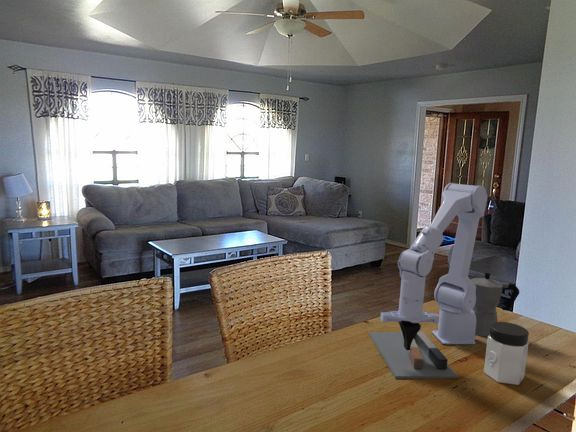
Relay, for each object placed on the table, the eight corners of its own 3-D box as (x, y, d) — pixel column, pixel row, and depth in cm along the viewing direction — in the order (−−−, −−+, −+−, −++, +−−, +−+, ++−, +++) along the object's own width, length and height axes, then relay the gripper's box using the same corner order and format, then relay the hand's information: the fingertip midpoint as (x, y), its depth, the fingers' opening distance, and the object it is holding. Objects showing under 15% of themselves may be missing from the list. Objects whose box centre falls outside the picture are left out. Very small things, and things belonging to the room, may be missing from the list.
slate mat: (368, 334, 124) (368, 332, 124) (419, 334, 125) (419, 332, 125) (395, 378, 100) (395, 376, 100) (457, 377, 102) (457, 375, 102)
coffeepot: (457, 332, 127) (464, 273, 124) (457, 321, 136) (462, 265, 133) (516, 342, 122) (523, 281, 119) (511, 329, 131) (518, 272, 128)
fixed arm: (414, 339, 119) (414, 331, 119) (421, 339, 120) (422, 331, 119) (438, 369, 104) (439, 359, 103) (446, 369, 104) (447, 359, 103)
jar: (476, 368, 107) (481, 322, 105) (502, 364, 109) (508, 319, 107) (504, 387, 98) (510, 338, 96) (532, 383, 101) (538, 334, 99)
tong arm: (399, 332, 124) (400, 322, 123) (414, 333, 124) (415, 323, 123) (413, 368, 104) (414, 356, 103) (431, 369, 104) (432, 357, 103)
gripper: (388, 302, 104) (383, 355, 106) (446, 303, 105) (441, 356, 107) (379, 292, 111) (375, 342, 113) (434, 294, 112) (429, 343, 114)
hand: (406, 348), depth 110 cm, fingers closed, pressing on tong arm
